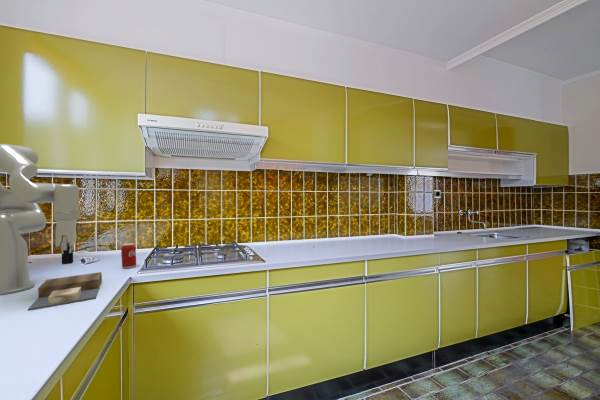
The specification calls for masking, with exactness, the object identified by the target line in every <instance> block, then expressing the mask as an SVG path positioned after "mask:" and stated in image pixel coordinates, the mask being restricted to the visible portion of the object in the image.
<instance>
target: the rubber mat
mask: <svg viewBox="0 0 600 400" xmlns="http://www.w3.org/2000/svg"><path fill="white" fill-rule="evenodd" d="M99 289H100V288H98V289H92V290H86V291H81V295H80V297H79V299H77V300H72V301H66V302H60V303H54V304H49V303H48V297H42V298H39V297H38V298H37V299H36V300H34V302H33V303H32V304H31V305H30V306H29V307H28V308H27V311H29V312H30V311H35V310H39V309H45V308H51V307H57V306H62V305H68V304H74V303H79V302H84V301H90V300H96V299H97V296H98V292H99Z"/></svg>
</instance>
